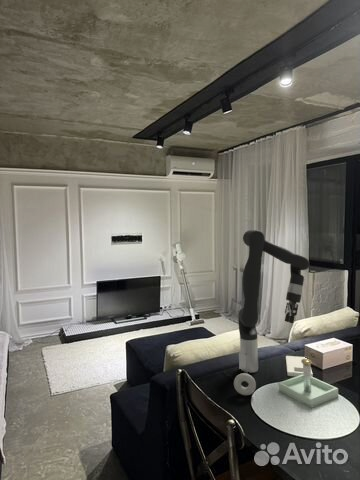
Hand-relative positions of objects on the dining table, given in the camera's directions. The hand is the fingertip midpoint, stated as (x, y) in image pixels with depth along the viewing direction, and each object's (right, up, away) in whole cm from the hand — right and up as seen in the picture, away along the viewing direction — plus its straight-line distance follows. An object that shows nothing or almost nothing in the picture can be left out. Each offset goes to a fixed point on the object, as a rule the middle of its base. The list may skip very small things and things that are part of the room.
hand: (288, 322), depth 177 cm
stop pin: (-1, -24, -27) cm, 37 cm away
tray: (0, -25, -27) cm, 37 cm away
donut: (-29, -27, -27) cm, 48 cm away
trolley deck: (+5, -24, 0) cm, 25 cm away
